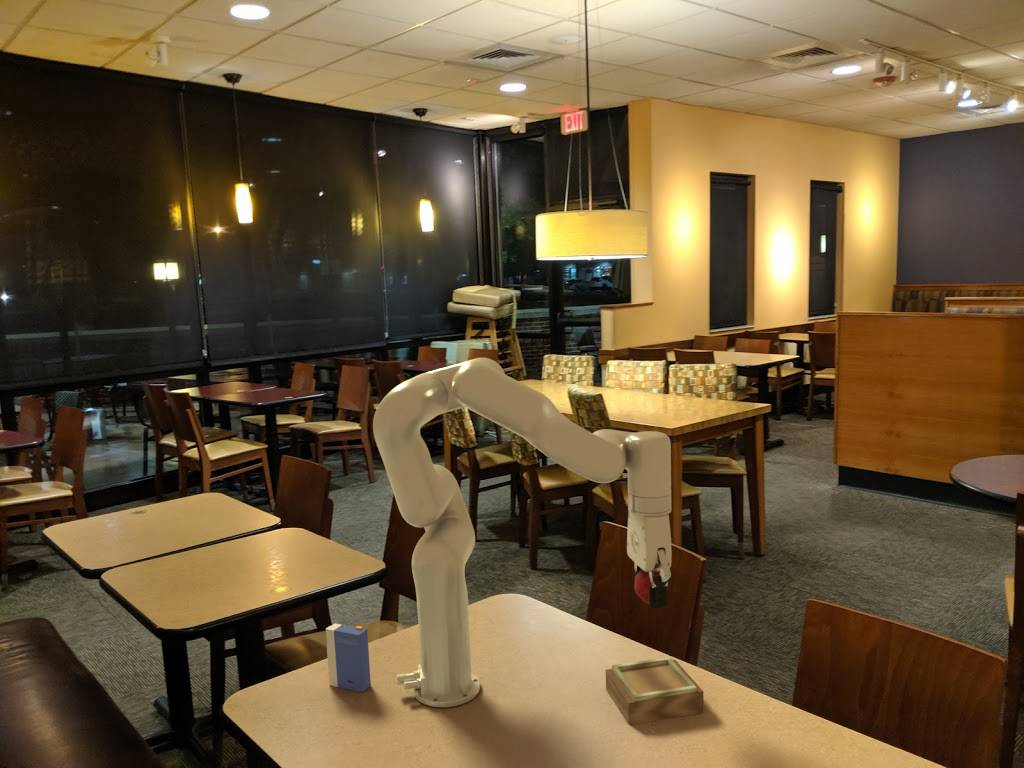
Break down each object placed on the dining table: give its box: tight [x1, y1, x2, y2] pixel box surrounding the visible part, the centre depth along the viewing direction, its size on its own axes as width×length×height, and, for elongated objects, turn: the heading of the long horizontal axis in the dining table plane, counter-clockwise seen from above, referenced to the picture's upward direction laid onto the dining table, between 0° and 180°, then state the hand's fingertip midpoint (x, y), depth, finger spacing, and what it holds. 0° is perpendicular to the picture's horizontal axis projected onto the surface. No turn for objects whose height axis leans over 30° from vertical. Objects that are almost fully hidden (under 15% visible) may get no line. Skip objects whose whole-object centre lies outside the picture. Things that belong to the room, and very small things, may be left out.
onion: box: [633, 566, 669, 605], centre depth 141 cm, size 6×6×8 cm
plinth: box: [605, 656, 704, 726], centre depth 144 cm, size 14×12×5 cm
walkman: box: [325, 623, 372, 693], centre depth 152 cm, size 8×3×12 cm, turn 66°
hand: (650, 598), depth 141 cm, fingers closed on onion, 5 cm apart
